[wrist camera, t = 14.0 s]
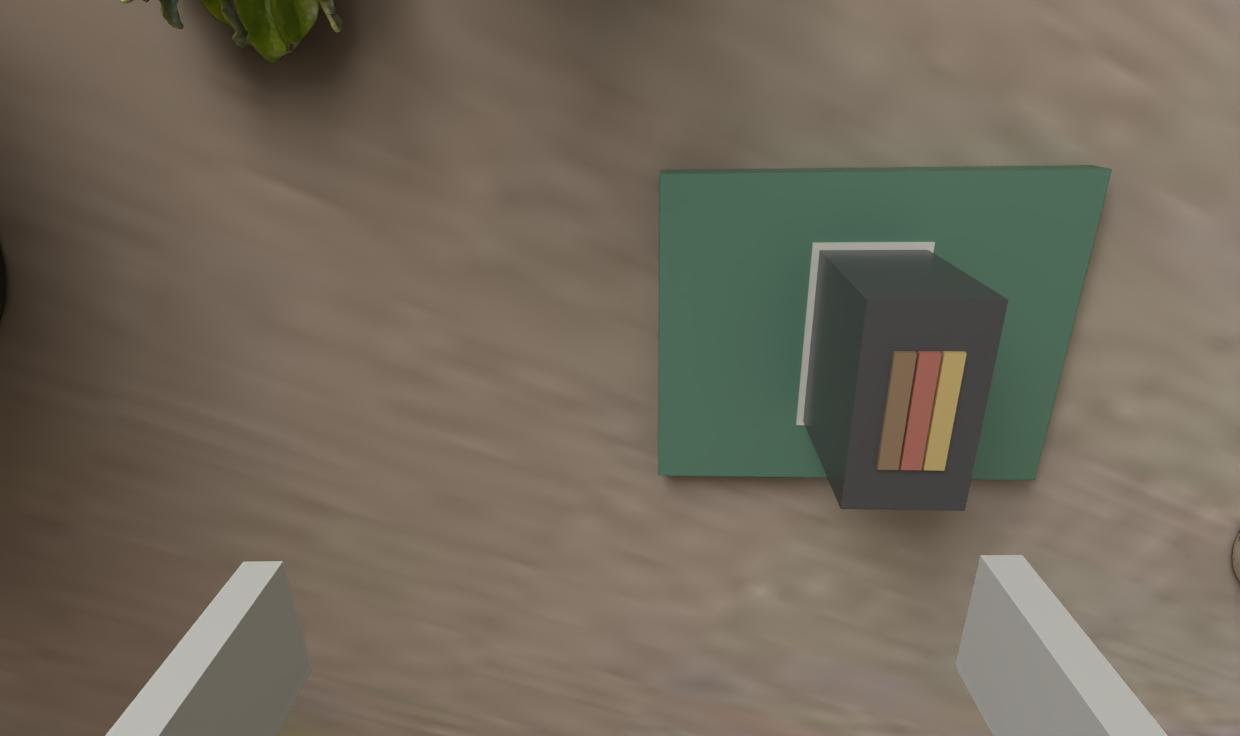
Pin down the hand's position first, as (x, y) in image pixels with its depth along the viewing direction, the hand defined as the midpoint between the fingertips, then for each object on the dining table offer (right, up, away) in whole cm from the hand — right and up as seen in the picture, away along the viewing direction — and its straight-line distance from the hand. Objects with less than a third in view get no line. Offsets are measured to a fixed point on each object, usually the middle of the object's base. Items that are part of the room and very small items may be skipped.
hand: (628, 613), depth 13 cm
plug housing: (+12, +6, +21) cm, 25 cm away
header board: (+12, +7, +22) cm, 26 cm away
